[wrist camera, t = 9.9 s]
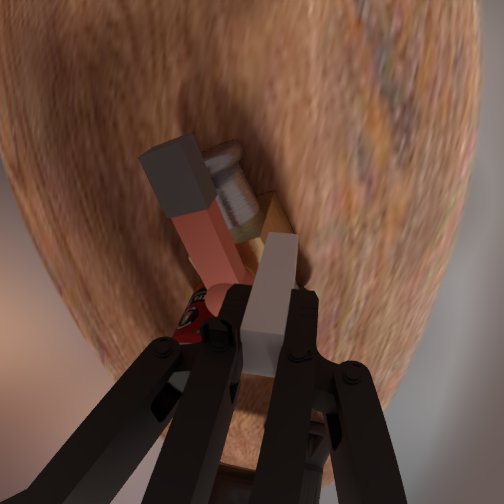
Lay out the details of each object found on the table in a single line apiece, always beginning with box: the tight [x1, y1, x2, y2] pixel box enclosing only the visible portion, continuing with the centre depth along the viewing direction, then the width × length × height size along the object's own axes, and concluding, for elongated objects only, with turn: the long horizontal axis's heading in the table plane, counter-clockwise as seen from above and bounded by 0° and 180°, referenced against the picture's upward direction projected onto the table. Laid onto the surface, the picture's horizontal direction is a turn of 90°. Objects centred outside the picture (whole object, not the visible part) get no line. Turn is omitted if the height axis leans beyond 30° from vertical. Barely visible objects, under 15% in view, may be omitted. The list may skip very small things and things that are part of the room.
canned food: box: [172, 281, 215, 345], centre depth 35 cm, size 8×8×11 cm
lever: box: [138, 132, 256, 316], centre depth 21 cm, size 14×4×2 cm, turn 19°
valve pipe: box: [188, 140, 307, 290], centre depth 29 cm, size 18×6×9 cm, turn 25°
